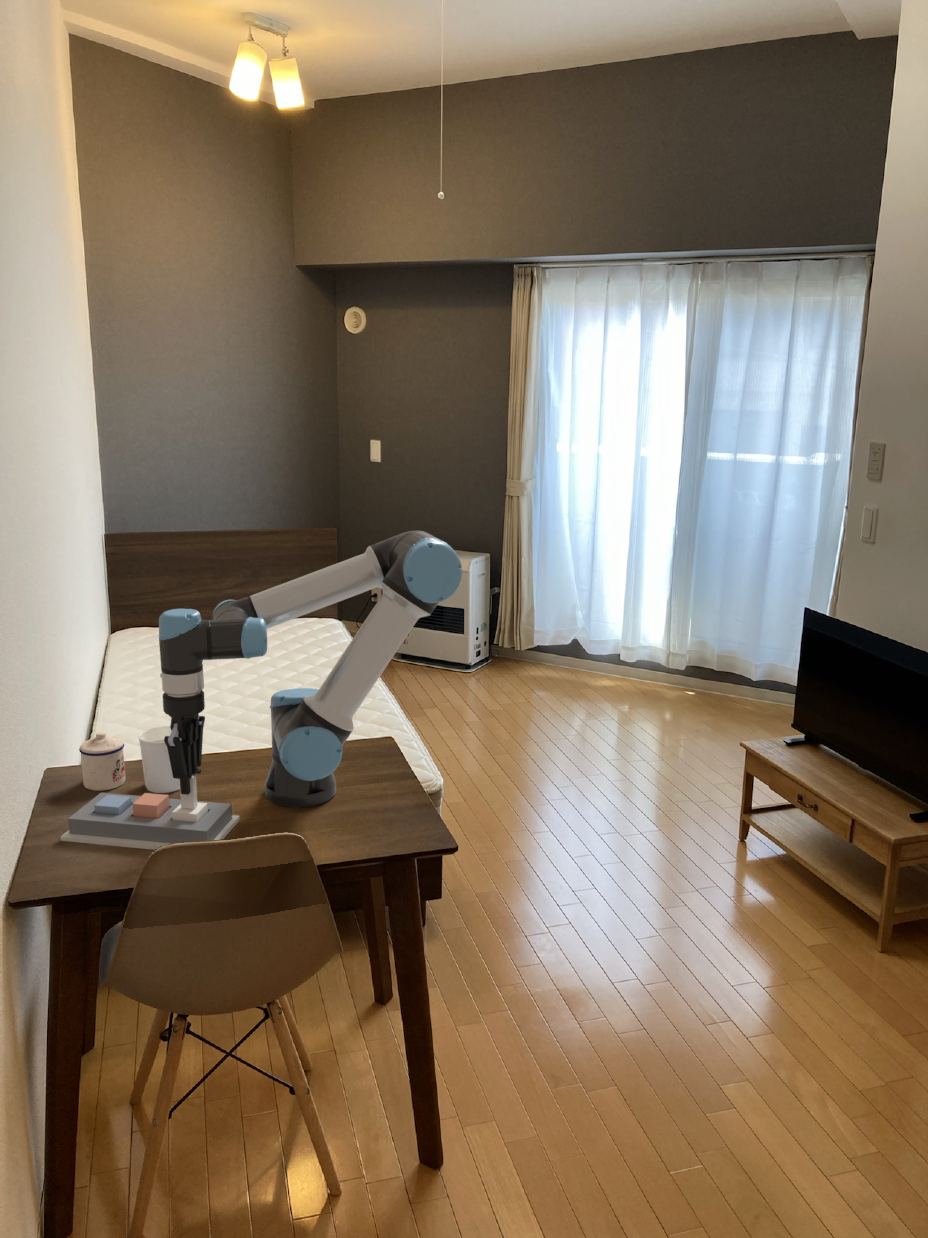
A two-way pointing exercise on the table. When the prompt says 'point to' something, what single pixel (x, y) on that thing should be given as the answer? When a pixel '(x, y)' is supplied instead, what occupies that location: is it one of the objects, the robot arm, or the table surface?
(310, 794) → the robot arm
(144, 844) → the key console
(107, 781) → the teacup with lid
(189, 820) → the white key
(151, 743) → the candle holder
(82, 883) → the table surface
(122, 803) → the blue key
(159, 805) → the terracotta key
